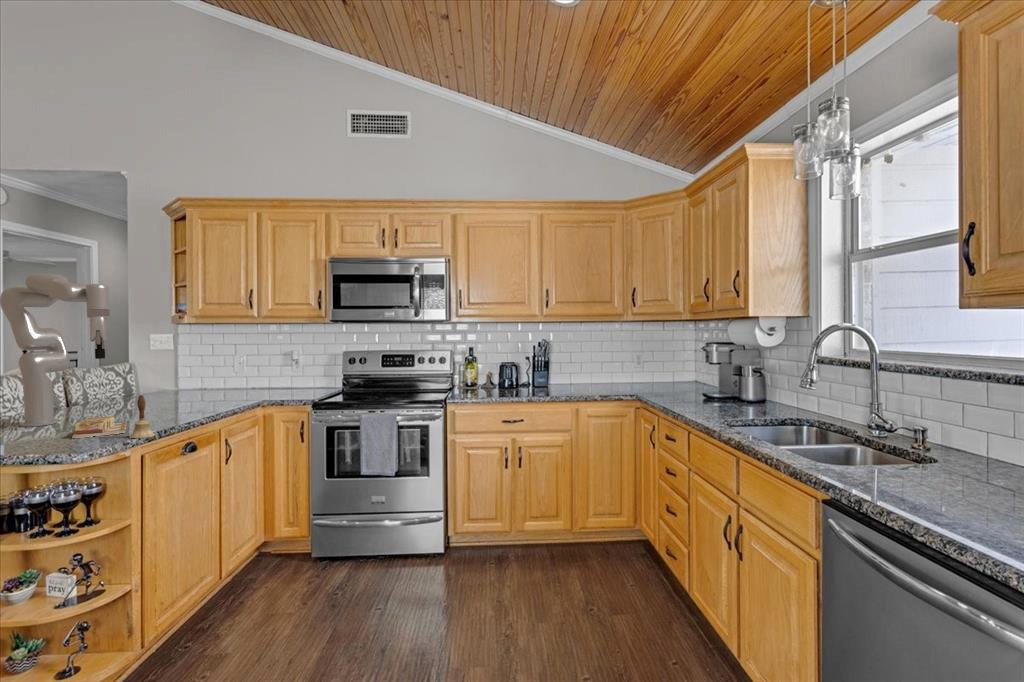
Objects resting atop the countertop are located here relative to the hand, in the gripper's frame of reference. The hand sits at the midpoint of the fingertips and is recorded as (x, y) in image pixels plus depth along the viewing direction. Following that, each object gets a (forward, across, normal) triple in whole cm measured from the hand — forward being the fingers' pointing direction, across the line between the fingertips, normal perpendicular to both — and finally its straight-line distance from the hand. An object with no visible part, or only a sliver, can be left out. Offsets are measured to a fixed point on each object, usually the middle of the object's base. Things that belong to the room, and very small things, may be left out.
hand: (100, 358), depth 225 cm
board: (+29, +9, 0) cm, 30 cm away
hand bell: (+29, +30, +14) cm, 44 cm away
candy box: (+26, +4, 0) cm, 26 cm away
